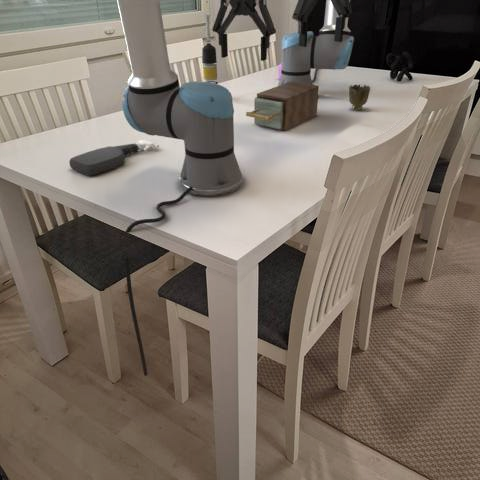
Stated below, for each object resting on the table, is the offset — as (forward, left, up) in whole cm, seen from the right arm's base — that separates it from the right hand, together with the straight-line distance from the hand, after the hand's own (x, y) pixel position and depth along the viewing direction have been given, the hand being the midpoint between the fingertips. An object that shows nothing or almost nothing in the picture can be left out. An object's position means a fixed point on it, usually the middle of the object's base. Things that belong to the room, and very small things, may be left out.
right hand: (320, 43), depth 133 cm
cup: (-22, +14, -25) cm, 37 cm away
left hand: (+1, -23, -4) cm, 24 cm away
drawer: (-2, -12, -24) cm, 27 cm away
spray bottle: (+35, -54, -25) cm, 69 cm away
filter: (-31, -42, -25) cm, 58 cm away
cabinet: (-7, -10, -25) cm, 28 cm away
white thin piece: (-73, -14, -25) cm, 78 cm away
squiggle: (-72, +35, -25) cm, 84 cm away
